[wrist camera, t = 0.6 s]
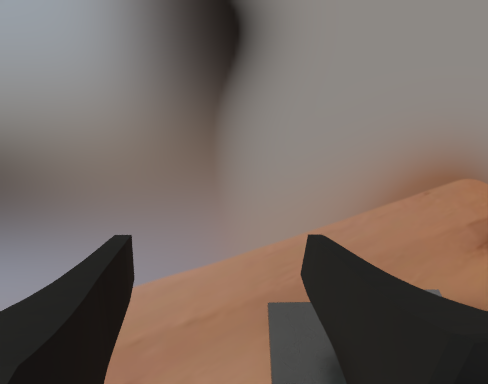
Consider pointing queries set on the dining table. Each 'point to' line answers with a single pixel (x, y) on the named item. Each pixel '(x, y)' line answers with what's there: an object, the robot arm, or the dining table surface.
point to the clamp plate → (302, 346)
